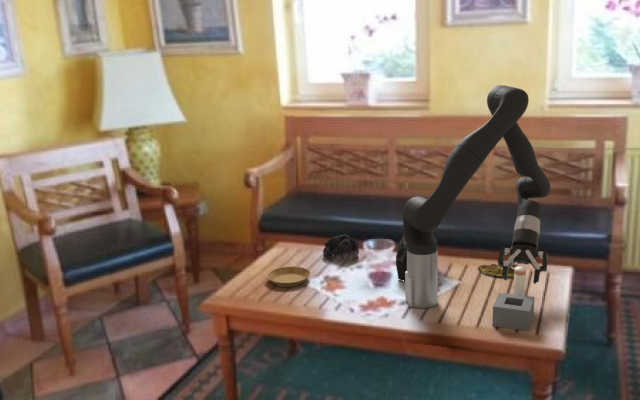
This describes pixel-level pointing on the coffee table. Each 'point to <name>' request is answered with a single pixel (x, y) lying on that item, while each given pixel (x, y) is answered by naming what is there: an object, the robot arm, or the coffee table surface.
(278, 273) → the plant saucer
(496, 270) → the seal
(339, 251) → the crystal cluster
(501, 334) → the coffee table surface
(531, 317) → the hole block
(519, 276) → the dowel
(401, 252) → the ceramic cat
